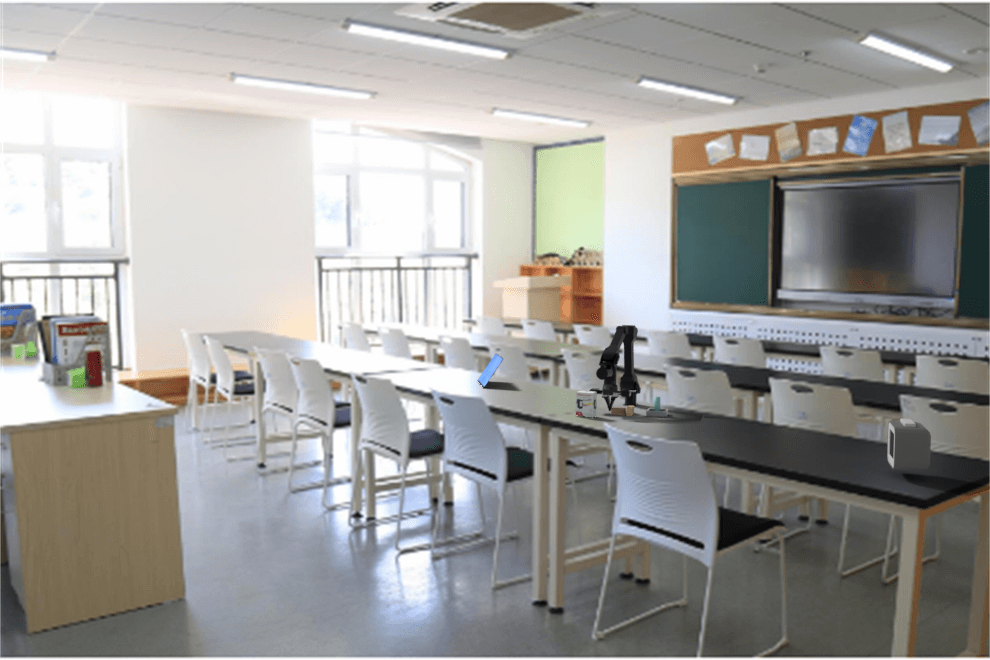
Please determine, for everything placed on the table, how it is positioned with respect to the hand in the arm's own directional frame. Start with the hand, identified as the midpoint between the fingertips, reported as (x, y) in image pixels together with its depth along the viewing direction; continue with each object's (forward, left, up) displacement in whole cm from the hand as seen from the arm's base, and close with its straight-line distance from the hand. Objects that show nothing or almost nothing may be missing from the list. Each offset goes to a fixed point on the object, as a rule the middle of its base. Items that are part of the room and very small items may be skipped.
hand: (609, 410), depth 404 cm
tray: (-1, +22, -1) cm, 22 cm away
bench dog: (0, +9, -1) cm, 9 cm away
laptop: (-67, -89, -2) cm, 112 cm away
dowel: (-1, +22, -1) cm, 22 cm away
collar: (-10, +20, -1) cm, 23 cm away
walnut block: (0, +4, -2) cm, 4 cm away
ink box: (+13, -9, -2) cm, 16 cm away
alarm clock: (+81, +114, -2) cm, 140 cm away
